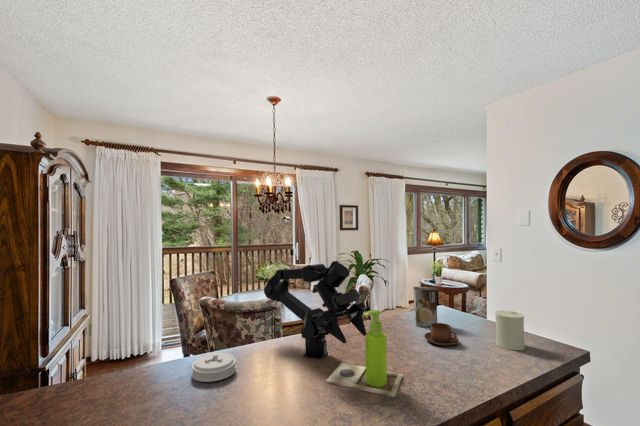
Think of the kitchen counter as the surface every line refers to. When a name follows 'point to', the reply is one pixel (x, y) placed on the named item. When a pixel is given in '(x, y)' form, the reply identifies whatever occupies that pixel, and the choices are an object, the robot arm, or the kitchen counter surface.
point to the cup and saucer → (441, 335)
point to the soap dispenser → (376, 352)
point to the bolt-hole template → (351, 375)
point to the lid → (213, 367)
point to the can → (510, 330)
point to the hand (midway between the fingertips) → (355, 338)
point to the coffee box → (425, 306)
